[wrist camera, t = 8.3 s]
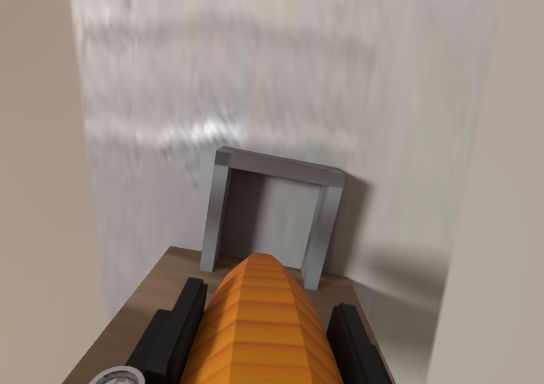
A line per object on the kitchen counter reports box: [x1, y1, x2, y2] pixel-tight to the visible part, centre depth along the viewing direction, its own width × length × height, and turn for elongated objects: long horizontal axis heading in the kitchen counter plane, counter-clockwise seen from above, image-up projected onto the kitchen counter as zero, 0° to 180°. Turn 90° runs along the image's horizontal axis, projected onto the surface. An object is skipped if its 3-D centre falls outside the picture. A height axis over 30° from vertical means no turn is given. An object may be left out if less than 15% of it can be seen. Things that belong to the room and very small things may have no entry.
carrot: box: [180, 253, 344, 384], centre depth 10 cm, size 5×5×15 cm
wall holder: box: [62, 146, 396, 384], centre depth 16 cm, size 11×16×20 cm
